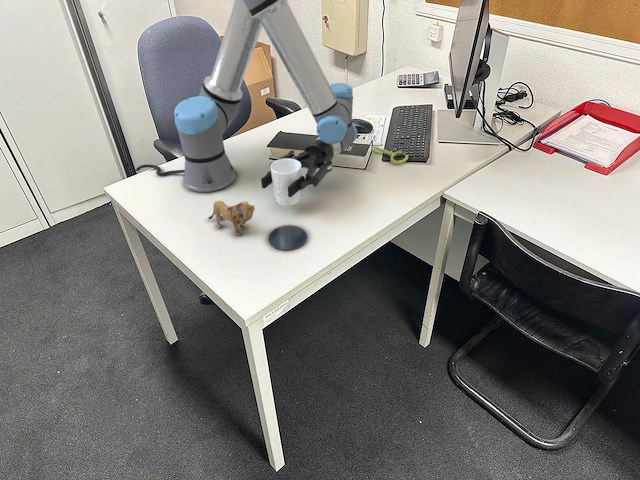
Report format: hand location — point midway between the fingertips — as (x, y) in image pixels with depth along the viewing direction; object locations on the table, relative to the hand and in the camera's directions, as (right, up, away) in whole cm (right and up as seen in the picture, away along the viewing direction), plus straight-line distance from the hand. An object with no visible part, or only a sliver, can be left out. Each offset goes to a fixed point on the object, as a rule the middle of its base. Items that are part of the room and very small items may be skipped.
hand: (275, 188), depth 108 cm
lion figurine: (-11, -10, +3) cm, 15 cm away
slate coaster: (+3, -13, -1) cm, 13 cm away
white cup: (+3, -2, +7) cm, 8 cm away
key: (+34, +14, +30) cm, 47 cm away
